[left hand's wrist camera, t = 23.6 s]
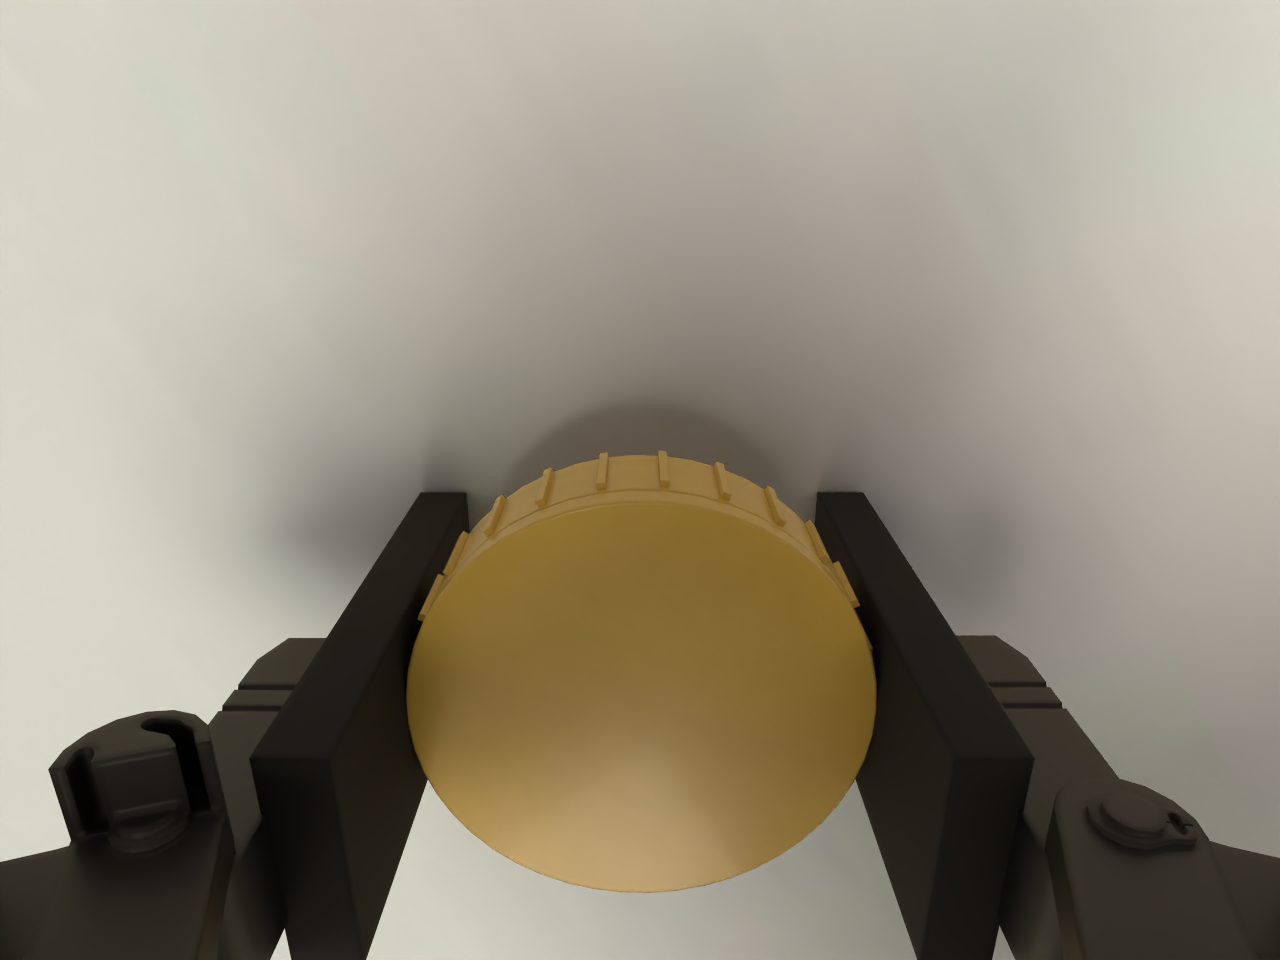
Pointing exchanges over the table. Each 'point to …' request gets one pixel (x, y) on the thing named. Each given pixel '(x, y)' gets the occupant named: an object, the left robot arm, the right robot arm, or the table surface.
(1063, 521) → the table surface
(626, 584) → the lid
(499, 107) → the table surface
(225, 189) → the table surface
